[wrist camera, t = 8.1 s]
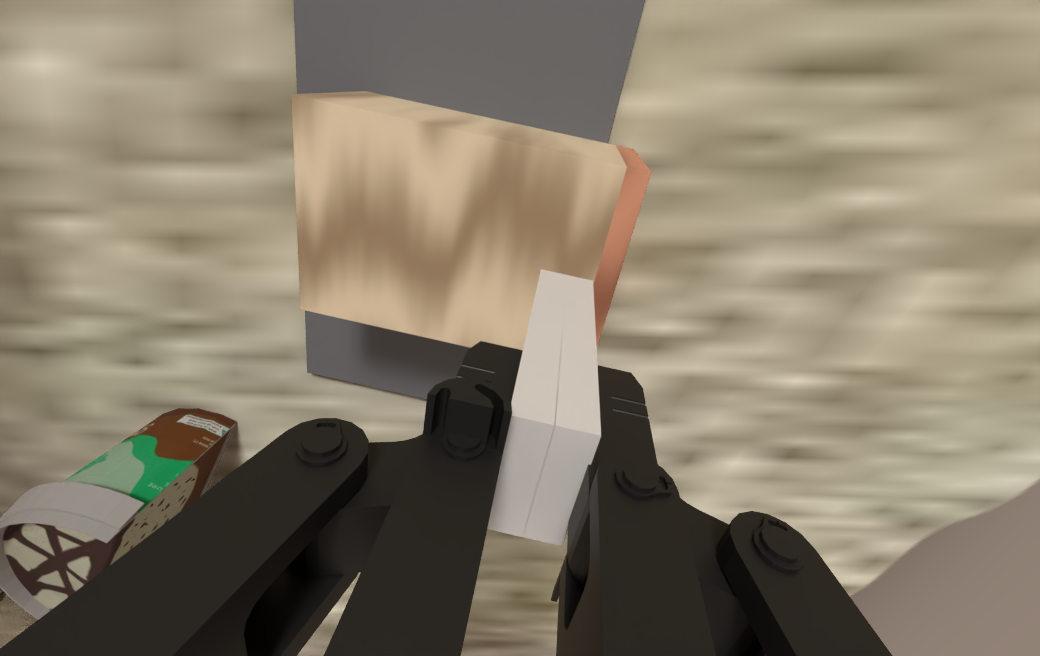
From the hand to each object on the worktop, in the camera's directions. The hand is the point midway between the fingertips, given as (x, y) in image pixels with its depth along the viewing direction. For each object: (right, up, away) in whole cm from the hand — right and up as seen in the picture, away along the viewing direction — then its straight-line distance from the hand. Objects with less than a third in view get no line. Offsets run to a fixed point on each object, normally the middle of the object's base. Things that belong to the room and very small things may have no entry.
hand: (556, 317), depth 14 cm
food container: (-25, -8, +20) cm, 33 cm away
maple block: (+3, +3, +6) cm, 7 cm away
